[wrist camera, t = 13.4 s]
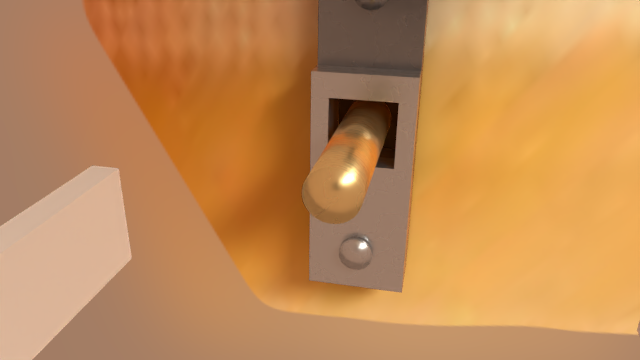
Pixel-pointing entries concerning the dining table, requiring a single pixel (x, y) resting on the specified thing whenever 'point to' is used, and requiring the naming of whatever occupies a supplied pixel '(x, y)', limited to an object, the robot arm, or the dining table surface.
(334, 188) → the brass pin
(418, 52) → the riveted square sleeve
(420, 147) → the dining table surface
